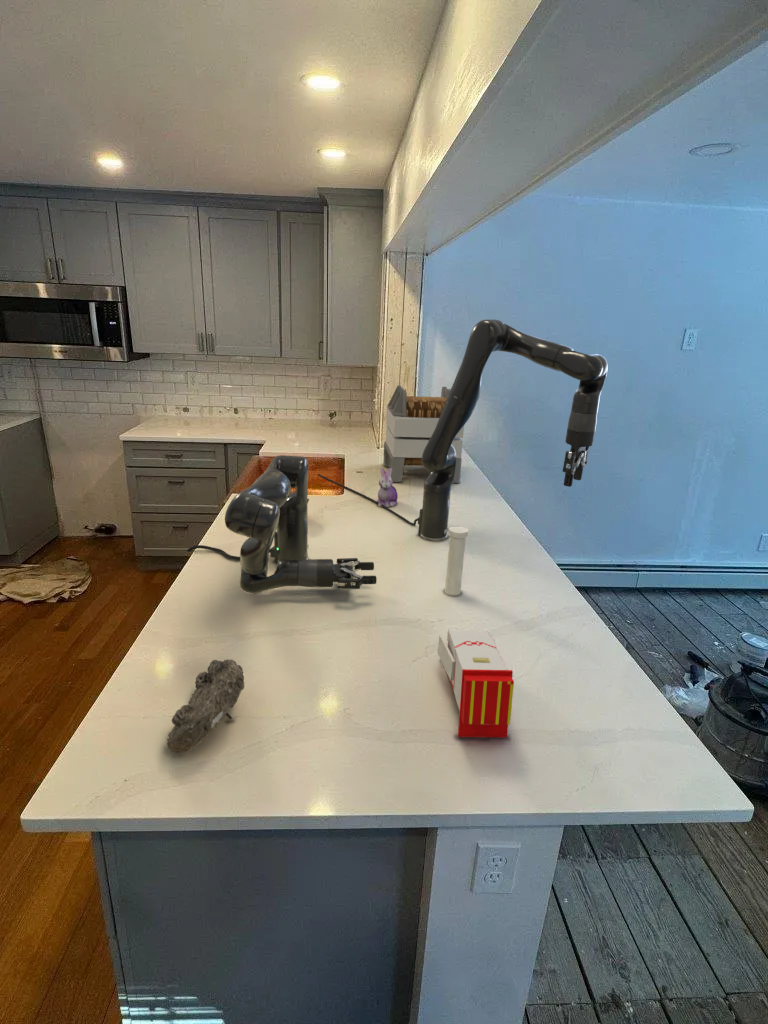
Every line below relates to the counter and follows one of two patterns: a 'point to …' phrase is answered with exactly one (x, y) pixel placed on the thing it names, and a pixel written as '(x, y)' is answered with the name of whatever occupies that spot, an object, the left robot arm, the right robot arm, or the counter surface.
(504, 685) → the toy
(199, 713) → the fossil
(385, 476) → the figurine
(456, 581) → the white cylindrical bottle
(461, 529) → the lid
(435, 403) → the grey wooden box
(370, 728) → the counter surface
